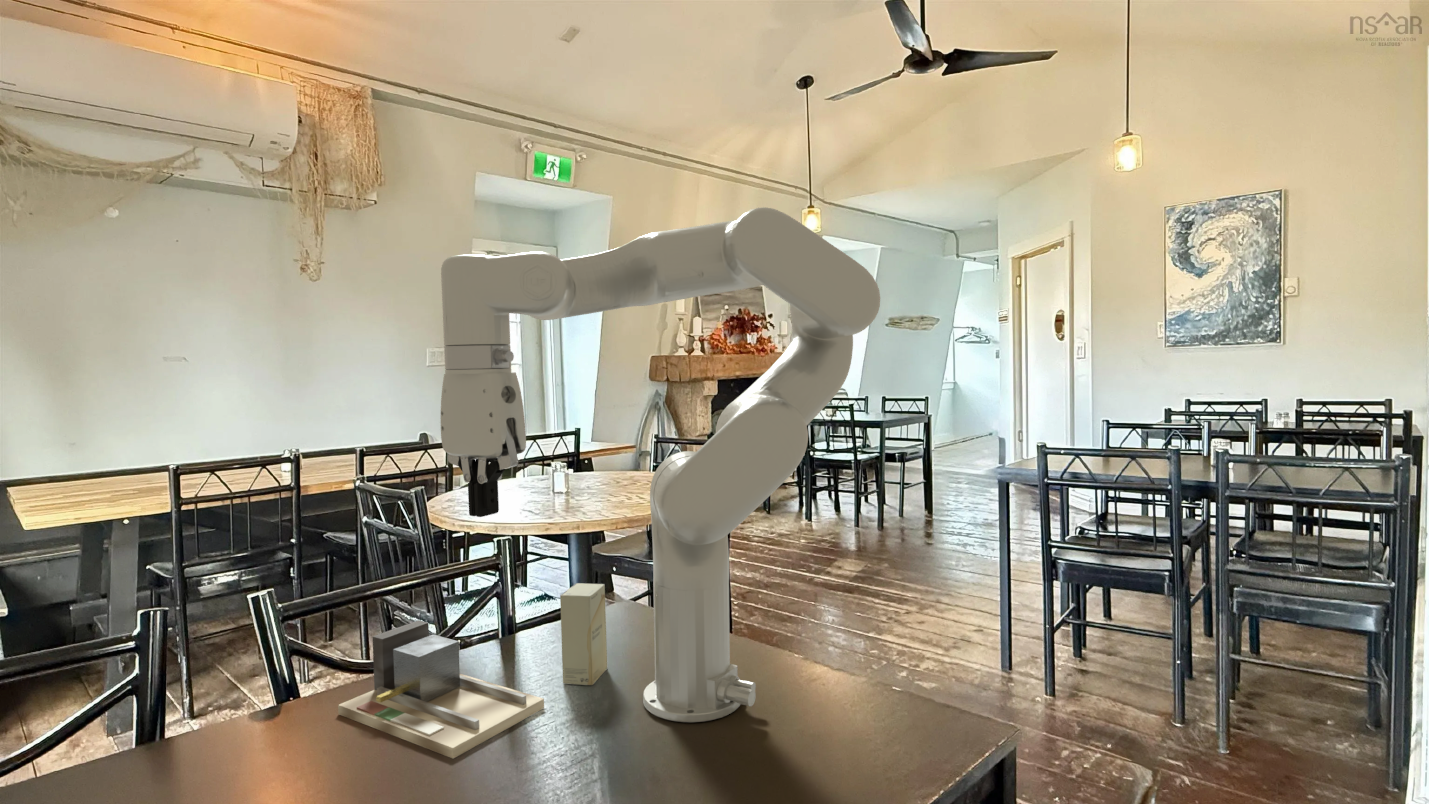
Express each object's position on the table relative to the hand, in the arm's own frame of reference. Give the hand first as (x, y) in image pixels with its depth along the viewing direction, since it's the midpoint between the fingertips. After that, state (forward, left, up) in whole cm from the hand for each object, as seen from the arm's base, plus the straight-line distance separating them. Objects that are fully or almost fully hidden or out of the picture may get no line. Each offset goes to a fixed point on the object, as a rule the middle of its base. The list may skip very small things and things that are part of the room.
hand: (484, 514), depth 92 cm
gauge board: (+7, +2, -25) cm, 26 cm away
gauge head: (+10, +3, -24) cm, 26 cm away
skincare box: (-2, -15, -25) cm, 29 cm away
